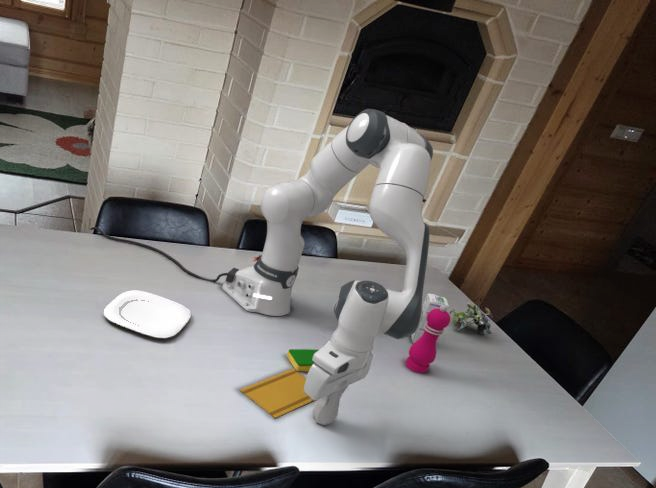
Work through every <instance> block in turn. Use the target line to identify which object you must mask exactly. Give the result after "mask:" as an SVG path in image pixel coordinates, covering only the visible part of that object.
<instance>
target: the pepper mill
mask: <svg viewBox="0 0 656 488" xmlns="http://www.w3.org/2000/svg"><path fill="white" fill-rule="evenodd" d="M446 310H447V311H446ZM450 323H451V315H450V312H448V309H447V307H446V306H445V305H442V306H440V309H433V310H431V311H430V312H429V313H428V315H427V323H426V324H425V326H424V329H425V331H424V333H423V335H422V336H421V337H420V338H419V339H418V340H417V341H416V342H415V343H412V344H411V346H410V347H409V349H408V355H409V356H407V358H406V360H405V366H406V367H407V368H408V369H409V370H410V371H412V372H415V373H418V374H425V373H427V372H428V370H429V368H430V364H432V363H433V362H435V360H436V357H437V342H438V339H439V337H440V336H441V335H443V334H444V333H443V332H444V331H445V328H447V327H449V325H450Z"/></svg>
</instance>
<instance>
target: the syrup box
mask: <svg viewBox="0 0 656 488" xmlns="http://www.w3.org/2000/svg"><path fill="white" fill-rule="evenodd" d="M442 305H445V306H446V307H447V310H446V312H448V309H449V306H450V305H449V303H448V299H447V297H445V296H442V295H439V294H434V293H429V292H428V293H427V294H426V296H425V300H424V301H423V302H422V316H421V321H420V324H419V326H418V328H417V330H416V332H415V333H414V334H412V335H410V337H411V338H410V339H411V342H412V344H414V343H415V342H416V341H417V340H418V339H419V338H420V337H421V336H422V335H423V333H424V331H425V329H424V326H425V324H426V323H427V315H428V313H429V312H430V311H431V310H433V309H440V306H442Z"/></svg>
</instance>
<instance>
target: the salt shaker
mask: <svg viewBox="0 0 656 488" xmlns="http://www.w3.org/2000/svg"><path fill="white" fill-rule="evenodd" d="M346 384H347V380H345V381H343V382H342V383H341V385H340V388H339V390H337V391H335V392H333V393H331V394H330V395H329V396H328V399H330V400H329V402H328V404H327V405H325V406H321V405H320V404H319V403H318V401H319V399H318V400H316V403H315V404H314V405H313V408H312V418H313V419H314V420H315V422H316V424H319V425H322V426H327V425H331V424H332V423H333V422H334V421H335V420H337V417H338V414H339V407H340V402H341V398H342V396H341V392H342V389H343V388H345V387H346ZM340 397H341V398H340Z"/></svg>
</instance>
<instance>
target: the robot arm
mask: <svg viewBox="0 0 656 488" xmlns="http://www.w3.org/2000/svg"><path fill="white" fill-rule="evenodd" d="M433 156H434V148H433V146H432V144H431V143H430V141H429V140H428V139H427V138H426V137H425V136H424V135H423V134H420V133H418V132H417V131H415V129H414V128H412V127H411V126H409V125H408V124H406V123H404V122H401V121H399V120H398V119H395V118H394V117H392V116H389V115H387V114H386V113H385V112H383V111H380V110H377V109H374V108H366V109H364V110H362V111H360V112H359V113H357V115H355V116H354V117H353V119H352V120H351V121H350V122H349V124H348V125H347V126H346V127H344V128H343V129H342V130H341V131H340V132H339V133H337V134H336V135H335V136H334V137H333V138H332V139H331V140H330V141H329V142H328V143H326V145H325V146H324V147H322V148H321V149H320V151H318V153H316V154H315V156H313V157H312V159H311V161H310V167H309V169H308V170H307V171H306V173H304V175H302V176H301V177H299V178H296V179H294V180H289V181H283V182H278V183H277V184H274V185H272V186H271V187H269V188H267V189H266V190H265V191H264V192H263V194H262V195H261V197H260V205H259V206H260V211H261V214H262V216H263V217H264V219H265V220H266V237H265V242H264V246H263V250H262V254H260V255H258V256H255V257H253V259H252V262H255V263H254V264H252V265H249V266H247V267H243V268H240V269H239V268H236V267H233V268H232V269H230V270H229V271H228V272H223V273H220V274H218V275H217V277H216V278H215V279H208V278H205V277H202V276H201V275H198V274H196V273H194V272H191V271H190V270H188V269H187V268H185V267H184V266H183V264H181V263H180V262H179V261H178V260H176V259H175V258H173V257H172V256H171V255H169V254H168V253H166V252H164V251H162V250H161V249H158V248H156V247H154V246H151V245H149V244H145V243H141V242H138V241H134V240H130V239H124V238H119V237H114V236H111V235H109V234H107V233H105V232H104V231H103V230H101V228H100V227H97V226H92V227H90V228H89V230H90V231H93V230H96V231H98V232H99V233H100V234H101V235H103V236H104V237H106V238H107V239H110V240H114V241H119V242H122V243H123V242H124V243H129V244H134V245H138V246H140V247H144V248H147V249H150V250H153V251H155V252H157V253H159V254H161V255H163V256H165V257H166V258H168V259H169V260H171V261H172V262H173V263H175V264H176V265H177V266H178V267H179V268H180V269H181V270H182V271H184V273H187V274H188V275H190V276H193V277H194V278H196V279H199V280H203V281H207V282H209V283H210V282H211V283H216V282H218V281H219V280H220V278H221V277H225V282H224V283H223V285H222V287H221V289H222V290H223V291H224V292H225V293H226V294H228V295H229V296H230V298H232V299H233V301H235V302H236V303H237V304H239V306H241V307H242V308H243V309H244V310H245V311H247V312H251V313H258V314H261V315H266V316H272V317H282V316H285V315H288V314H289V313H290V312H291V300H292V299H291V297H292V291H293V286H294V284H295V282H296V280H297V276H298V272H299V264H300V262H301V257H302V254H303V251H304V248H305V240H304V238H303V236H302V235H301V231H302V230H301V229H302V224H303V222H304V220H307V219H311V218H315V217H317V216H319V215H321V214H322V213H324V212H325V211H327V210H328V209H329V208H330V207H331V205H332V204H333V200H334V199H335V197H336V196H337V195H338V193H339V192H340V191H341V190H342V189H343V188H344V187H345V186H346V185H347V184H348V183H349V182H351V181H352V180H354V178H355V177H357V176H358V175H359V174H360V173H362V171H364V170H365V168H366V167H368V166H370V165H372V166H373V167H375V168H377V169H379V171H378V174H377V177H376V180H375V183H374V186H373V188H372V192H371V197H370V200H369V205H368V212H369V216H370V219H371V220H372V222H373V224H374V225H375V226H376V228H377V229H378V230H379V231H380V232H381V233H383V234H384V235H385V236H387V238H388V237H389V238H390V239H391V240H393V241H394V242H395V243H396V244H397V245H398V246H399V247H400V248H401V249H402V251H403V252H404V255H405V256H406V262H405V263H406V264H405V270H404V276H403V277H404V278H403V285H402V290H401V291H396V290H392V289H388V288H385V287H384V286H383V285H382V284H380V283H379V282H376V281H372V280H356V279H354V280H353V279H352V280H350V281H348V282H347V283H345V284H343V285H342V286H341V287H340V289H339V295H338V298H337V300H336V303H335V305H334V307H333V314H334V316H335V318H336V320H337V321H338V324H337V327H336V328H335V330H334V331H333V332H332V335H331V338H330V339H329V340H328V341H327V342H326V343H325V344H324V346H322V347H321V348H319V349H317V350H318V351H317V352H316V353H315V354H314V355H313V358H312V361H314V362H315V363H314V364H313V365H312V366H311V368H310V370H309V371H307V375H306V377H305V378H306V381H305V385H304V392H305V394H306V395H308V396H309V397H310V398H312V399H313V400H314V401H318V400H319V401H318V403H319V404H320V405H321V406H325V405H327V404H328V402H329V400H330V399H328V396H329V395H330V394H331V393H333V392H335V391H337V390H339V388H340V385H341V383H342V382H343V381H345V380H347V384H346V387H345V388H343V389H342V392H341V397H340V399H341V398H342V396H343V394H344V392H345V391H346V390H347V389H348V388H349V386H350V385H352V384H354V383H356V382H359V381H361V380H363V379H365V378H366V376H367V375H368V374H369V372H370V369H371V367H372V366H371V365H372V362H373V358H374V355H373V353H372V352H373V350H374V339H375V337H376V336H377V335H378V334H379V333H382V334H384V335H386V336H389V337H391V338H393V339H395V340H402V339H404V338H407V337H409V336H410V337H411V335H412V334H414V333H415V332H416V330H417V328H418V326H419V324H420V321H421V316H422V306H423V293H424V286H425V278H426V271H427V265H428V264H427V263H428V255H429V249H430V248H429V247H430V227H429V225H428V224H427V223H426V222H425V221H424V218H423V213H422V207H423V206H422V205H423V202H424V198H425V194H426V191H427V188H428V182H429V178H430V171H431V162H432V159H433Z"/></svg>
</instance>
